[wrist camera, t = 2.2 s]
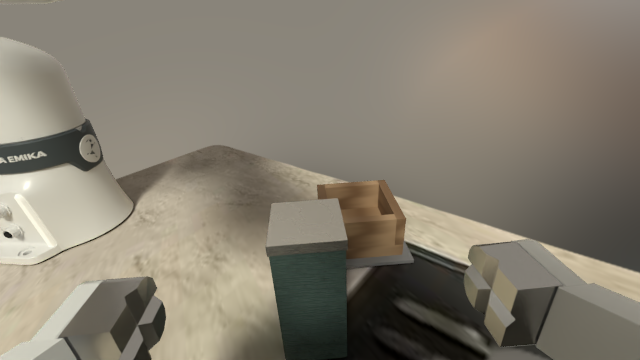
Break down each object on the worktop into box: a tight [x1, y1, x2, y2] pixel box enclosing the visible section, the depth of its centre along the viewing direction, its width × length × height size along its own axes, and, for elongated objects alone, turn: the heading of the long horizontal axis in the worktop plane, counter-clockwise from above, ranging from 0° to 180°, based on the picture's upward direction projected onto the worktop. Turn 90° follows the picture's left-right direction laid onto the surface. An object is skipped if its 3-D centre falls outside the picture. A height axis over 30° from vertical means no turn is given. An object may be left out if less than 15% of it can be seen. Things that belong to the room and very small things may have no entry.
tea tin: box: [266, 198, 348, 360], centre depth 24 cm, size 5×5×12 cm
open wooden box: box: [317, 180, 406, 259], centre depth 38 cm, size 9×9×5 cm
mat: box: [346, 241, 414, 268], centre depth 39 cm, size 11×11×1 cm
